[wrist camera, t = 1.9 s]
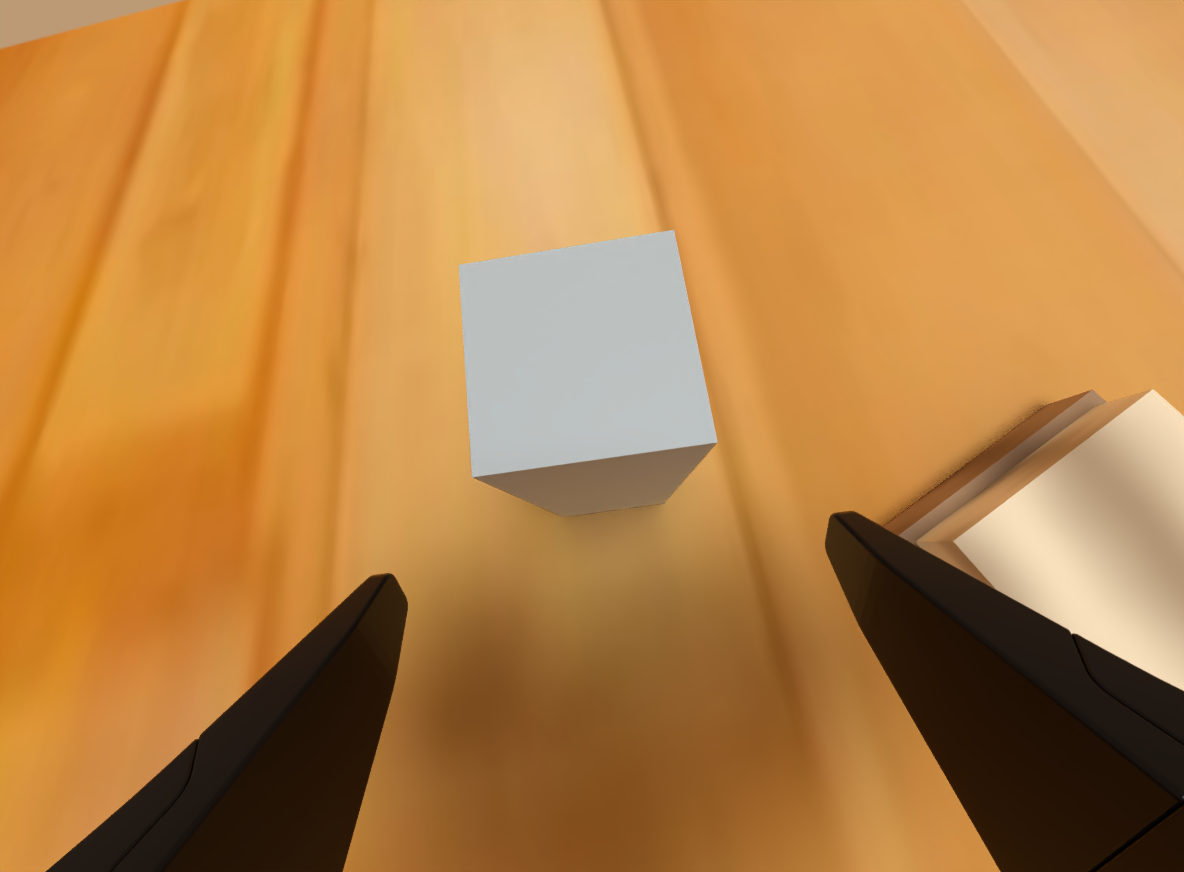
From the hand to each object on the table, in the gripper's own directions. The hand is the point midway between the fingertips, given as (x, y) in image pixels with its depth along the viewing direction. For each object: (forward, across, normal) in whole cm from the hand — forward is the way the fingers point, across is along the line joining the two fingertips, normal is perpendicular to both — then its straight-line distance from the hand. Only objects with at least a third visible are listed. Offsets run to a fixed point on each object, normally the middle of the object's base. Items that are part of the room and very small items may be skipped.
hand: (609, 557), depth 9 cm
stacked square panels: (+5, -17, +10) cm, 20 cm away
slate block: (+10, 0, +5) cm, 11 cm away
